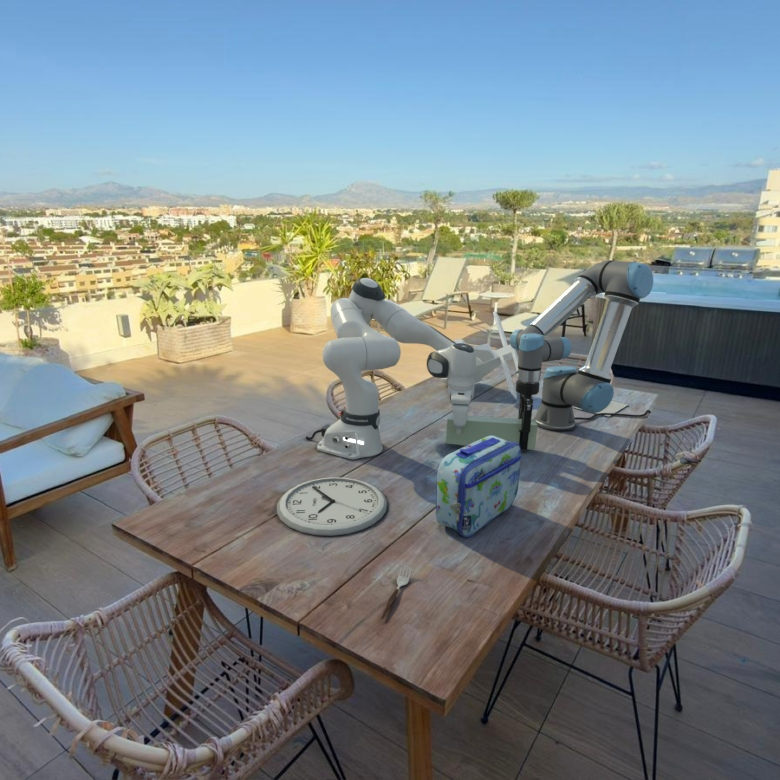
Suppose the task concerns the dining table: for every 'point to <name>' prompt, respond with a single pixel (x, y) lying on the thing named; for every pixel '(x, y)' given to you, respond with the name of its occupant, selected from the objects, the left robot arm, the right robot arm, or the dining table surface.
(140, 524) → the dining table surface
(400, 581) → the fork
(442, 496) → the lunch box
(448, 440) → the sage box
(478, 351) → the white plastic object
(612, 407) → the invitation card
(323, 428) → the left robot arm
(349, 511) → the wall clock
